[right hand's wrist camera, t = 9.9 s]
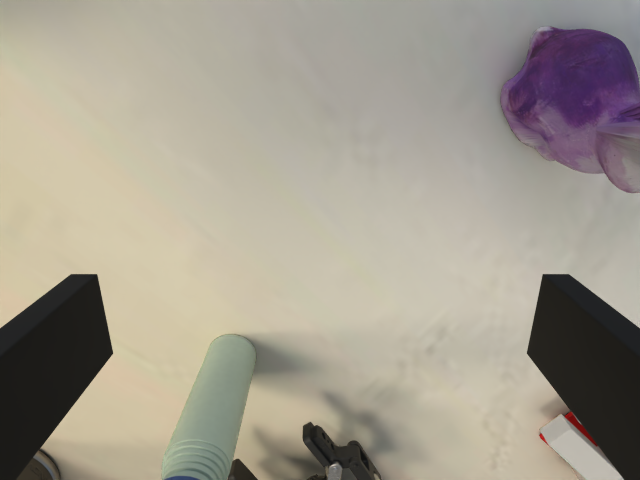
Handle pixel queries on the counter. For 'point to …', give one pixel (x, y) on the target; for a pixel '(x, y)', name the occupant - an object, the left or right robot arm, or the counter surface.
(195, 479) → the cap
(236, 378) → the bottle
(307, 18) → the counter surface
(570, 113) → the figurine
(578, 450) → the toy
